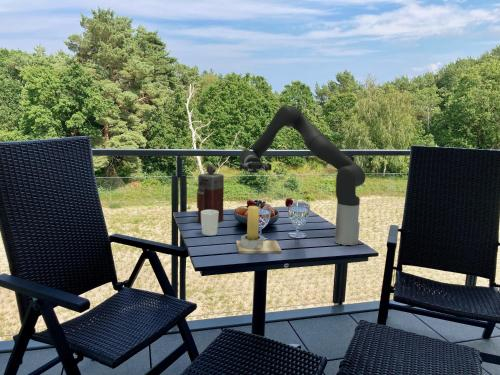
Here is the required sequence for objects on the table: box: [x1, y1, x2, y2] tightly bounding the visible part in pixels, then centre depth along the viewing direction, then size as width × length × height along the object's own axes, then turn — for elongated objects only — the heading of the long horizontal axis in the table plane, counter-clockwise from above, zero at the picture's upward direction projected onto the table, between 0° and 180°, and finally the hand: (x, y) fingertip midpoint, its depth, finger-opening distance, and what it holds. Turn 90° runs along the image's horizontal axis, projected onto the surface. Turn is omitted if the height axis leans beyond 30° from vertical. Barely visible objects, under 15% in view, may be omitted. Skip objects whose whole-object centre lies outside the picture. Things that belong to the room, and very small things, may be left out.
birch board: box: [235, 239, 283, 255], centre depth 177 cm, size 17×13×1 cm
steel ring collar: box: [240, 233, 264, 249], centre depth 176 cm, size 9×9×4 cm
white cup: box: [200, 210, 219, 236], centre depth 193 cm, size 8×8×10 cm
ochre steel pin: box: [246, 205, 260, 240], centre depth 175 cm, size 4×4×16 cm
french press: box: [196, 164, 225, 224], centre depth 210 cm, size 9×11×28 cm
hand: (256, 169), depth 187 cm, fingers open, 8 cm apart
